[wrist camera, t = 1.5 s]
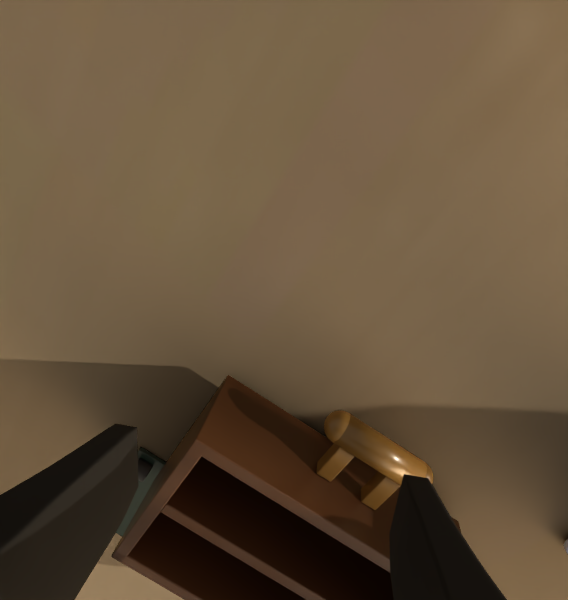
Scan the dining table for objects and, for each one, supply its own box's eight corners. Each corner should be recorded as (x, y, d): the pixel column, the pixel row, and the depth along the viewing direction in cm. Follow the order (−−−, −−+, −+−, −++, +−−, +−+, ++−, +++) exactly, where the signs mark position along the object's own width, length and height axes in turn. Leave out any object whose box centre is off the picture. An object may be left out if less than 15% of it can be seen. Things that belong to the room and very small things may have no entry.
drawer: (364, 705, 22) (541, 578, 17) (110, 557, 20) (236, 383, 16) (362, 604, 26) (501, 484, 22) (155, 478, 25) (261, 327, 21)
